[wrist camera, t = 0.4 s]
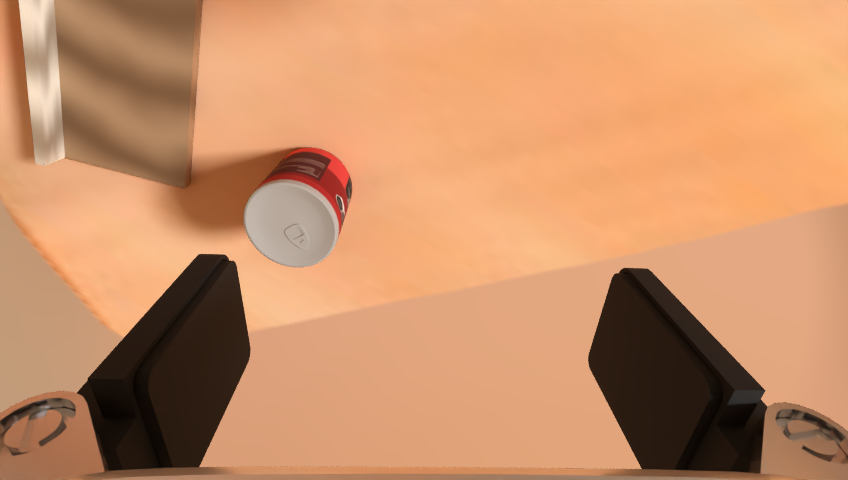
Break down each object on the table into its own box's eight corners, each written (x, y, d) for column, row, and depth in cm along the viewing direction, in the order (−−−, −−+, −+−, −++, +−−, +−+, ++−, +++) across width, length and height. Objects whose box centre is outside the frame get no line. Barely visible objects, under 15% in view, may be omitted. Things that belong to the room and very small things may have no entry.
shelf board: (46, -85, 34) (6, -97, 31) (204, -31, 36) (183, -36, 33) (63, 151, 43) (33, 162, 39) (190, 184, 45) (172, 198, 41)
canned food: (321, 229, 47) (298, 283, 38) (262, 179, 45) (221, 224, 35) (369, 184, 45) (358, 230, 36) (311, 129, 42) (281, 162, 33)
